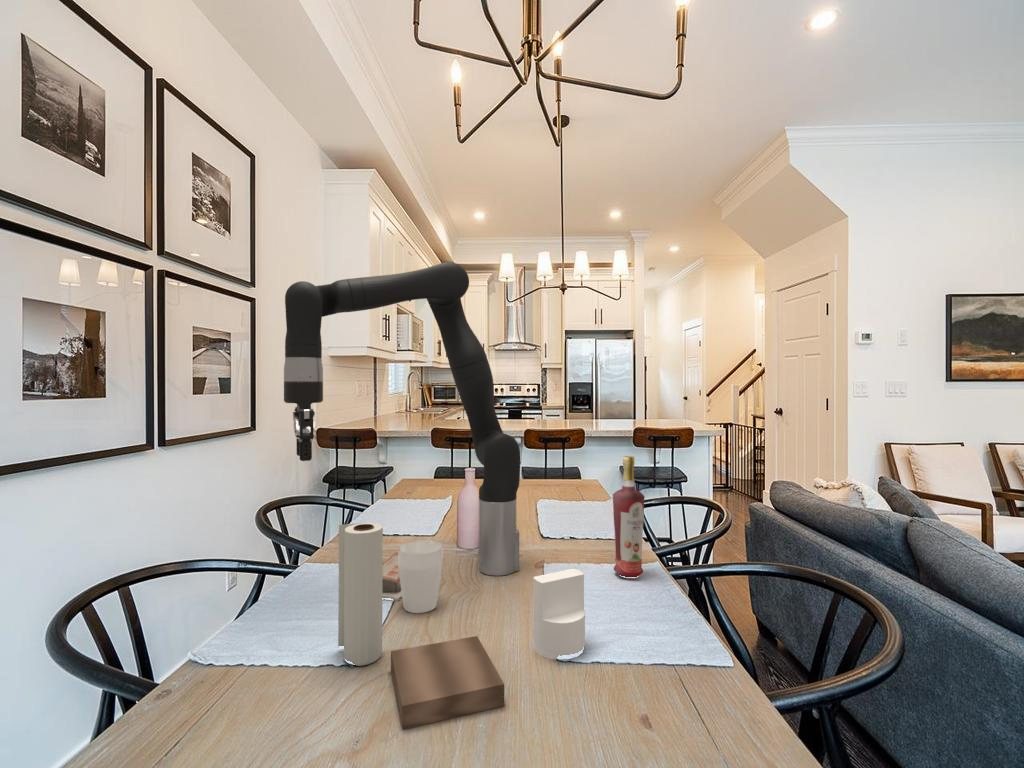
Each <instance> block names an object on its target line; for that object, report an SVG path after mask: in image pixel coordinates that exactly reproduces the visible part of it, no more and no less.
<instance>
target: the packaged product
mask: <svg viewBox="0 0 1024 768" xmlns="http://www.w3.org/2000/svg"><path fill="white" fill-rule="evenodd" d="M398 553H399V551H397V552H395V553H394V554H392V555H391V556H390V557H389V558H387V560H385V561H384V562H383V576H382V598H391V599H393V600H394V601H393V602H401V600H403V599H402V591H401V584H400V577H399V570H398Z"/></svg>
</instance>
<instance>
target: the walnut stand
mask: <svg viewBox="0 0 1024 768" xmlns="http://www.w3.org/2000/svg"><path fill="white" fill-rule="evenodd" d="M390 674H391V679H392V684H393V688H394V689H393V690H394V694H395V698H396V705H397V709H398V713H399V715H398V716H399V720H400V725H401V730H406V729H409V728H410V729H411V728H414V727H418V726H422V725H427V724H432V723H436V722H439V721H445V720H448V719H452V718H457V717H458V718H459V717H461V716H465V715H469V714H474V713H479V712H482V711H487V710H488V711H489V710H491V709H497V708H500V707H504V706H505V682H504V681H503V679H502V678H501V676H500V674H499V672H498V670H497V668H496V667H495V665H494V663H493V661H492V660H491V658H490V656H489V654H488V652H487V651H486V648H485V647H484V645H483V644H482V642H481V640H480V638H479V636H478V635H475V636H469V637H463V638H458V639H453V640H446V641H440V642H434V643H430V644H429V643H428V644H423V645H417V646H412V647H407V648H400V649H396V650H391V651H390Z"/></svg>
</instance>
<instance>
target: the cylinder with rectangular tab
mask: <svg viewBox="0 0 1024 768" xmlns="http://www.w3.org/2000/svg"><path fill="white" fill-rule="evenodd" d="M532 578H533V579H532V581H533V582H532V585H533V586H532V591H533V592H532V593H533V595H532V597H533V598H532V601H533V602H532V604H533V605H532V648H533V650H534V651H535V653H537V654H538V655H540V656H541V657H544V658H546V659H551V660H554V659H555V660H556V659H557V657H558V656H559V655H560V656H562V655H570V654H575V653H578V652H579V651H581V650H582V649H583V647H584V646H585V647H586V610H585V574H584V573H583V572H582V570H581V571H580V570H579V569H577V568H571V569H567V570H566V569H565V570H561V571H556V572H551V573H546V574H542V575H536V576H533V577H532Z"/></svg>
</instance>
